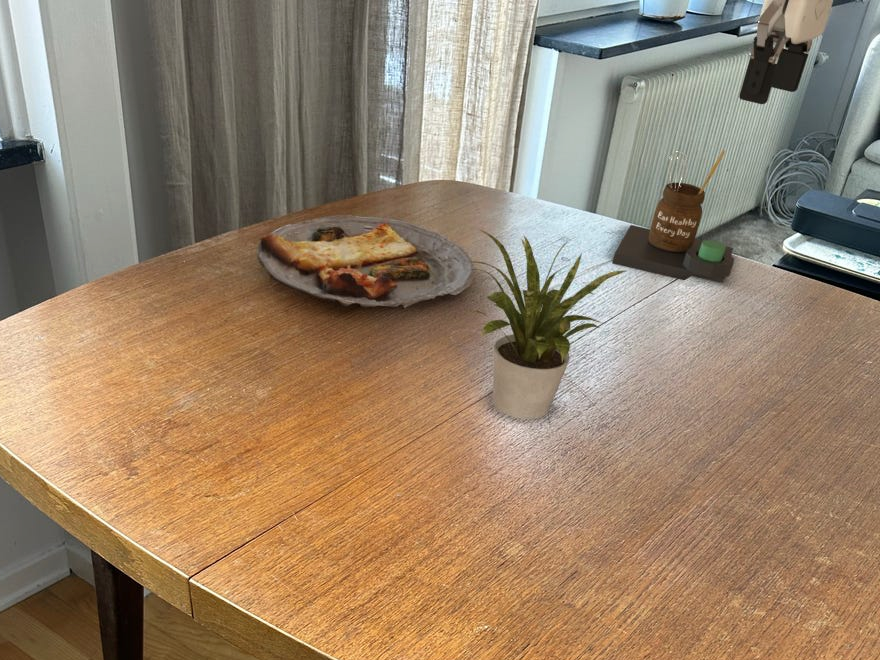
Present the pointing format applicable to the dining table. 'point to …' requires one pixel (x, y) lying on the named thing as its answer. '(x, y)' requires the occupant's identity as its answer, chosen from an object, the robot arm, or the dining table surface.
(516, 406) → the house plant
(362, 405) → the dining table surface
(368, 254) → the food plate
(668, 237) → the utensil holder
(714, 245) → the button
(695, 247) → the green push button base
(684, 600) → the dining table surface
